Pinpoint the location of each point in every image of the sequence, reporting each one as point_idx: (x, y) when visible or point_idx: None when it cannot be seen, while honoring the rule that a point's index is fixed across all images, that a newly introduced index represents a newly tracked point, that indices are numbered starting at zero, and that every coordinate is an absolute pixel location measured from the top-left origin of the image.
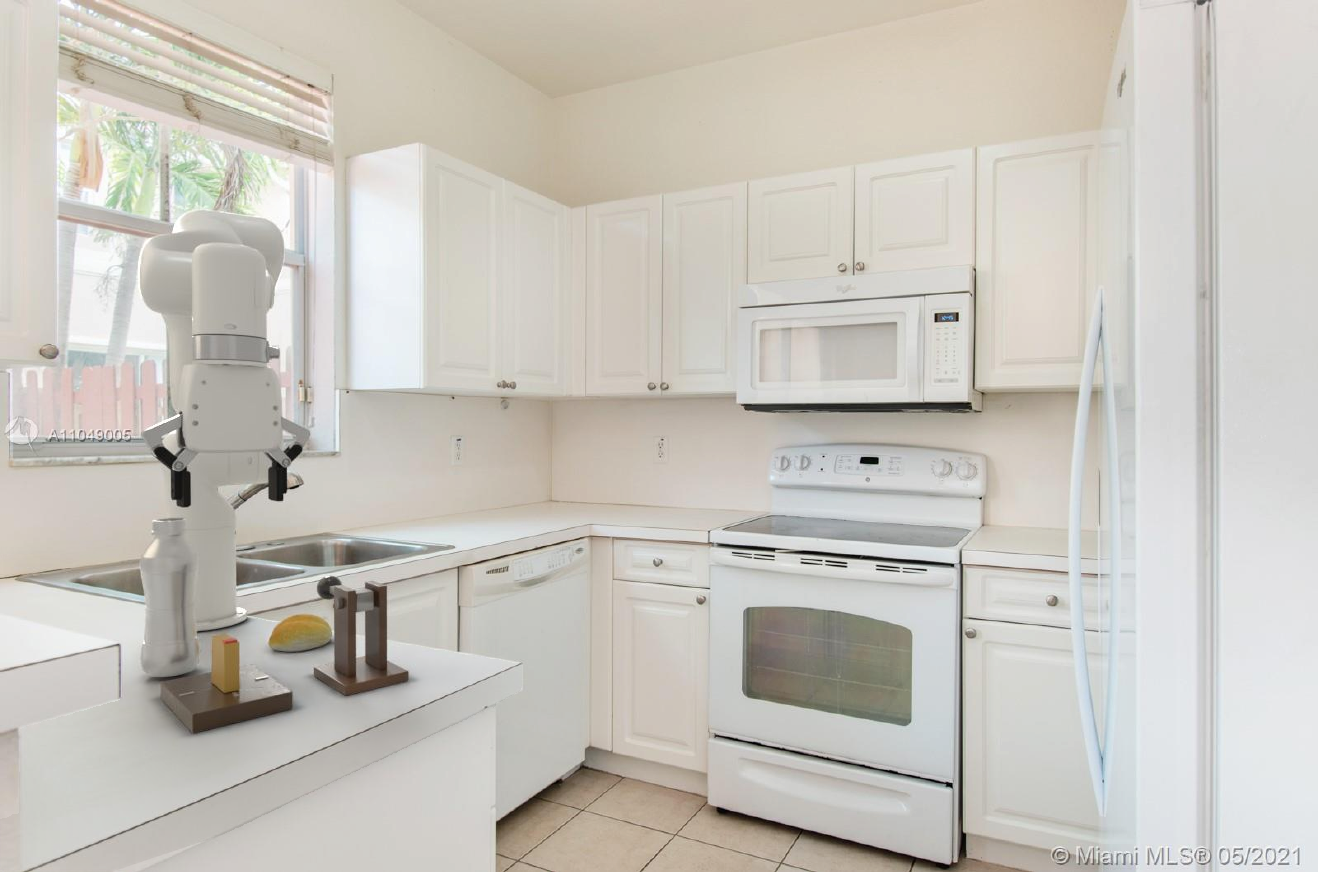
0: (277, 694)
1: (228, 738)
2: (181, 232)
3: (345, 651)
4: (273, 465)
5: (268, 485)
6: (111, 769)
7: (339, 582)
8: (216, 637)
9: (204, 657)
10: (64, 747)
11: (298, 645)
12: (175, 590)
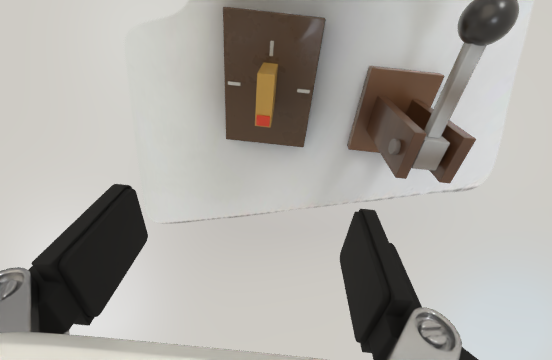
0: (291, 144)
1: (245, 159)
2: None
3: (375, 134)
4: (382, 331)
5: (365, 240)
6: (176, 153)
7: (497, 40)
8: (259, 87)
9: None
10: (147, 86)
11: None
12: None
